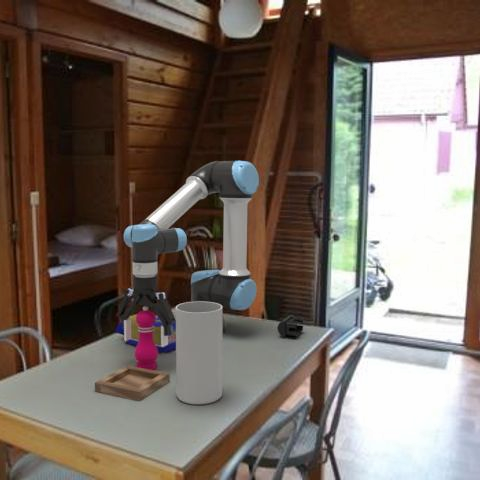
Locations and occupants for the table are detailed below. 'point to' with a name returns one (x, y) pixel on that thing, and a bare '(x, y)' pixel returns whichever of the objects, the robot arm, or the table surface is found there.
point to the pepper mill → (146, 340)
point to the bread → (156, 334)
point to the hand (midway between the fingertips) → (145, 342)
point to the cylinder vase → (199, 352)
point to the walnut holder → (132, 383)
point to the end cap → (290, 327)
